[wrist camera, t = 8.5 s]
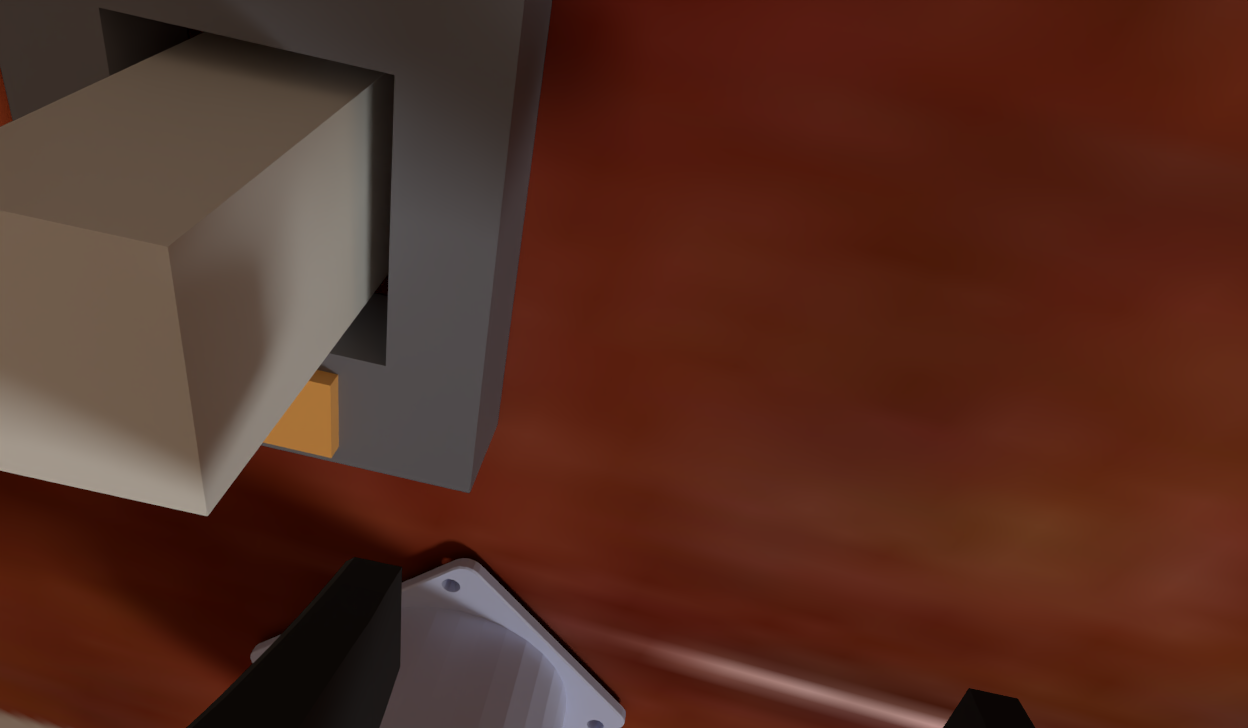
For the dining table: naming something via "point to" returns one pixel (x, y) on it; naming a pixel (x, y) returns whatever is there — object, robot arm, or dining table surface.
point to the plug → (184, 262)
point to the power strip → (420, 197)
